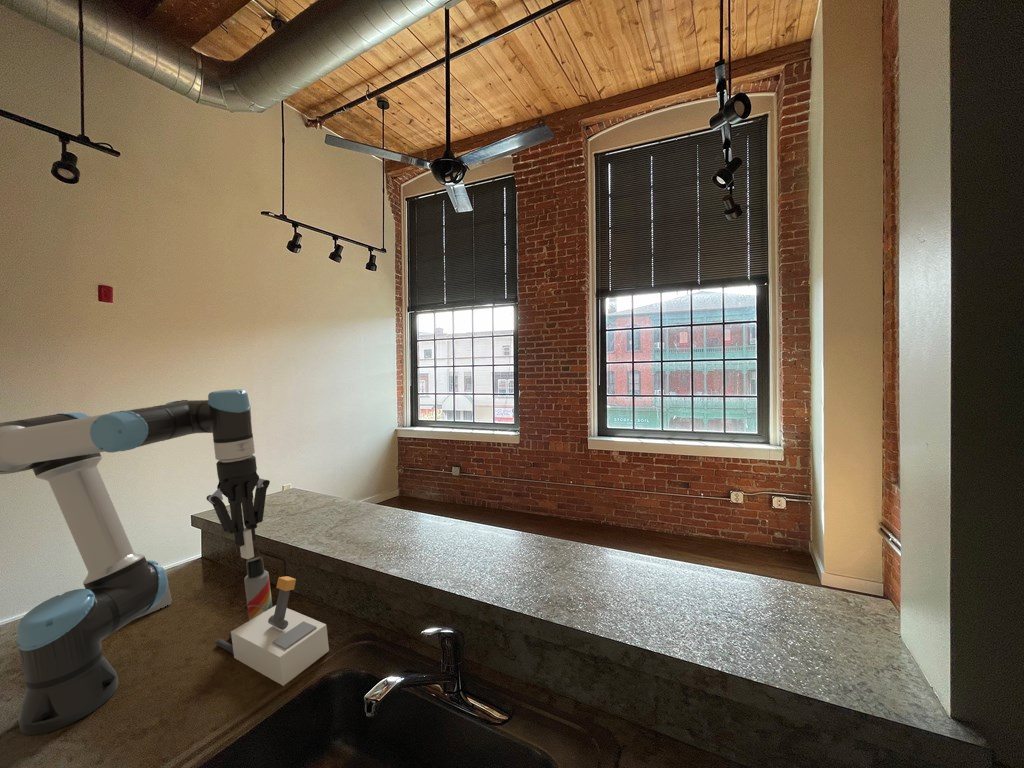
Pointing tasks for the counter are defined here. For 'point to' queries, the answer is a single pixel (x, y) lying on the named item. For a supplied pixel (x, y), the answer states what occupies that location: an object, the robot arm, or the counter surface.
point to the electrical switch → (161, 602)
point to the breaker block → (280, 645)
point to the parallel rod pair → (225, 644)
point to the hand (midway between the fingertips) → (247, 556)
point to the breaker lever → (282, 602)
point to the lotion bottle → (257, 588)
